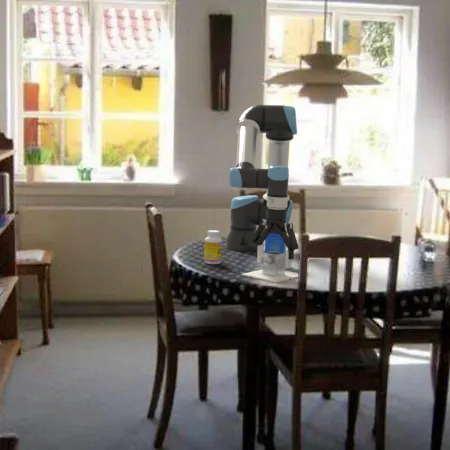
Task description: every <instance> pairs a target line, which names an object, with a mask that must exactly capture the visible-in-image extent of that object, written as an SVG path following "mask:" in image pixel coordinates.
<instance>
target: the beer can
mask: <svg viewBox="0 0 450 450" xmlns="http://www.w3.org/2000/svg"><path fill="white" fill-rule="evenodd" d="M285 230H286V232H287V229H286V228H285ZM282 232H283V231H282ZM271 251H276V252H281V253H286V251H287V247H286V245H285V243H284V241H283V239H282V237H281V236H280V235H279V234H276V233H270V234H269V235H268V237H267V238H266V239H265V240H264V251H263V253H265V252H271Z"/></svg>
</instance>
